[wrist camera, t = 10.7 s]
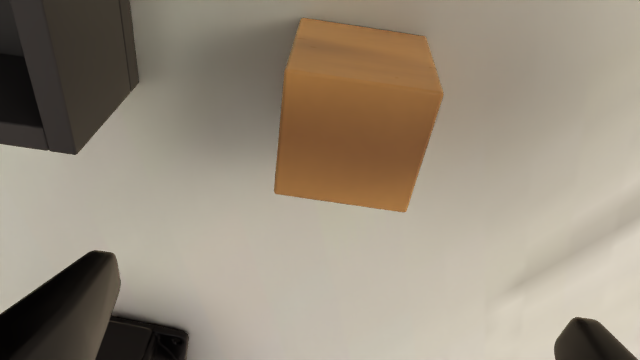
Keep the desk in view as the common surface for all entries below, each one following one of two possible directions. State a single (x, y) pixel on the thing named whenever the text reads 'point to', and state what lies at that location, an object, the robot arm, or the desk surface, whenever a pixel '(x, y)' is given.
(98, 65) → the dark grey box
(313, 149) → the orange-brown cube
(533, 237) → the desk surface
